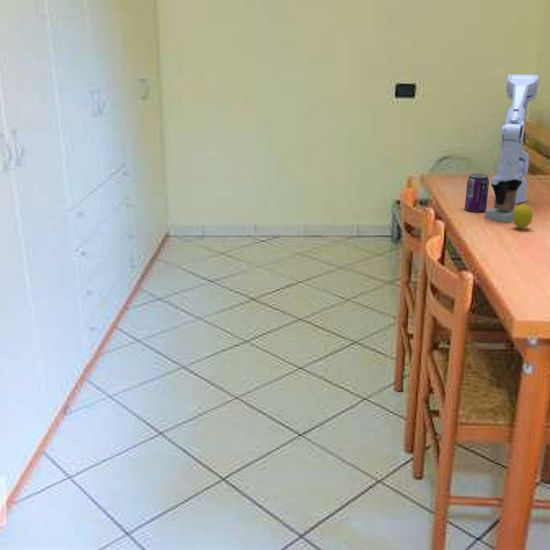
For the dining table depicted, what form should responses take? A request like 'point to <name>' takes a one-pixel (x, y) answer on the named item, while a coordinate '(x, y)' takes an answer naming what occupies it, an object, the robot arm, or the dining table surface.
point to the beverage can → (477, 192)
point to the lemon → (522, 216)
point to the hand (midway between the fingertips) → (504, 203)
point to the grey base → (499, 215)
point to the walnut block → (507, 201)
